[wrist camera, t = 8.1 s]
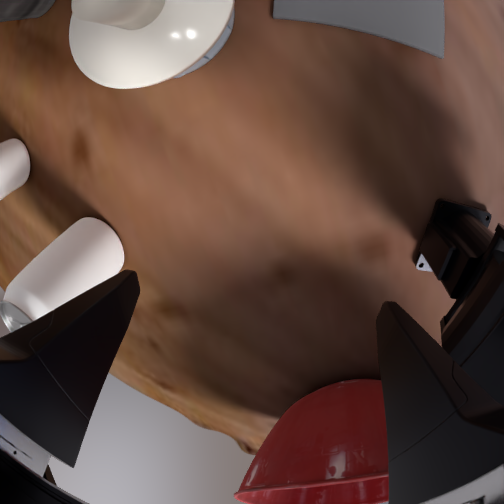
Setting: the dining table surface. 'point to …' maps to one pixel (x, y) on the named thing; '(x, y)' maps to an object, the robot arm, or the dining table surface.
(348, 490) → the mixing bowl
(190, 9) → the lid
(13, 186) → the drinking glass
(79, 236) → the can
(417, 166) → the dining table surface
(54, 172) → the dining table surface
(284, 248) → the dining table surface
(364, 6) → the mat
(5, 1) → the beverage cup
